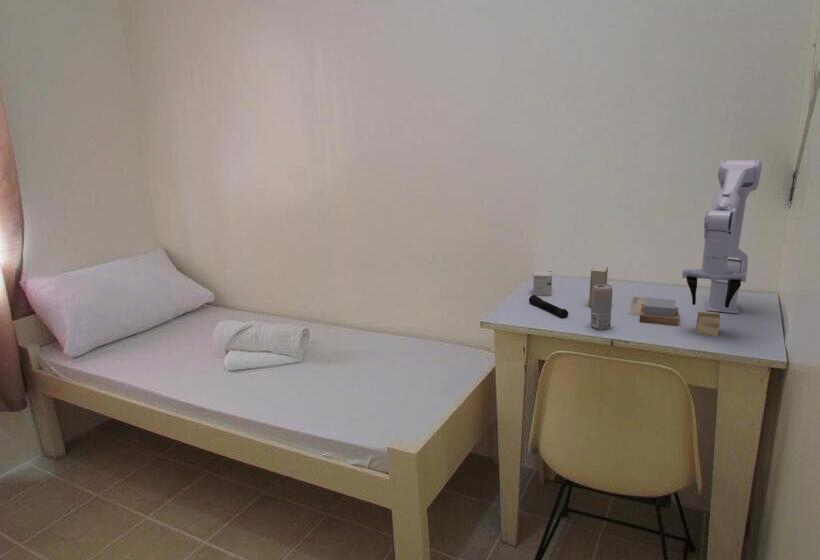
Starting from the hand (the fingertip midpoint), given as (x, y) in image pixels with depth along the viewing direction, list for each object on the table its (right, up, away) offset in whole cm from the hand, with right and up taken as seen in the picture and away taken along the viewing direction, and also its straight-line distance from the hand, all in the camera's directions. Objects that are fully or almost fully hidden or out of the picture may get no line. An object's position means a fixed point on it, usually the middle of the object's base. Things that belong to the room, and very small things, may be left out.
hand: (709, 305), depth 140 cm
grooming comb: (-7, -2, +24) cm, 25 cm away
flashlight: (-37, -3, +25) cm, 45 cm away
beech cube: (0, -7, +2) cm, 8 cm away
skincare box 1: (-35, +2, +41) cm, 54 cm away
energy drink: (-26, -7, +10) cm, 29 cm away
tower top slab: (-7, -2, +13) cm, 15 cm away
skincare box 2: (-20, -1, +27) cm, 34 cm away
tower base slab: (-7, -5, +13) cm, 16 cm away
